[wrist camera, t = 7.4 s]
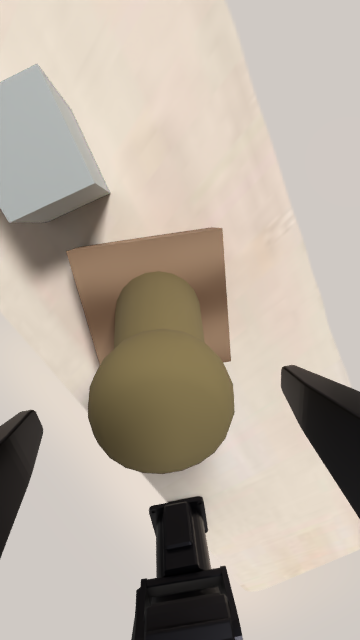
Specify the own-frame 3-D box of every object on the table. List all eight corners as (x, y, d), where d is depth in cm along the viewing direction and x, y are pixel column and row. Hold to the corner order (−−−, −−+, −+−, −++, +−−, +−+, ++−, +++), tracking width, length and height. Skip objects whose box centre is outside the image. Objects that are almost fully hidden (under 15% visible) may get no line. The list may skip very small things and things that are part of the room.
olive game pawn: (132, 360, 19) (106, 522, 9) (101, 285, 17) (19, 387, 6) (208, 338, 19) (272, 474, 9) (188, 260, 17) (243, 321, 6)
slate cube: (110, 193, 17) (94, 183, 13) (47, 222, 18) (9, 222, 13) (71, 110, 16) (37, 63, 11) (1, 144, 16) (-61, 113, 11)
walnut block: (221, 344, 23) (230, 361, 20) (111, 362, 22) (105, 382, 19) (212, 227, 19) (222, 228, 16) (79, 246, 18) (66, 251, 16)
